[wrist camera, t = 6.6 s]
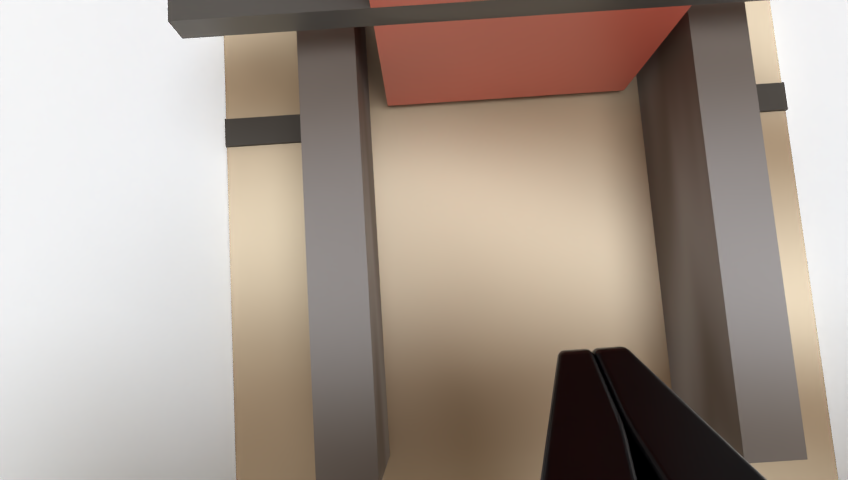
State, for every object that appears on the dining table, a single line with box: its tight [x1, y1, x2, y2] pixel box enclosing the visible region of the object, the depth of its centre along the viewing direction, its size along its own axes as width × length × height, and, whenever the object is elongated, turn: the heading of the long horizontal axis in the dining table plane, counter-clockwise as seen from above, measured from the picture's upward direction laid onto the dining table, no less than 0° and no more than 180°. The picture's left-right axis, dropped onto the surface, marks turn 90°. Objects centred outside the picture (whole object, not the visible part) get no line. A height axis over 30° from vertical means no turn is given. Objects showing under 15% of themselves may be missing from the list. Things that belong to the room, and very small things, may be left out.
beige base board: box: [224, 0, 838, 480], centre depth 12 cm, size 18×12×7 cm, turn 4°
